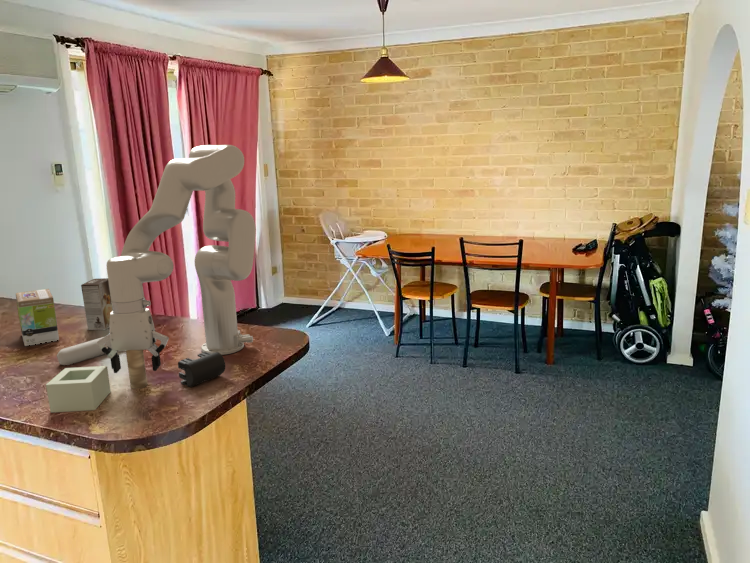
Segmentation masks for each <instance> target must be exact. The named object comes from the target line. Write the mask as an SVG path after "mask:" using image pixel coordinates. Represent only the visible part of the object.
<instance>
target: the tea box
mask: <svg viewBox="0 0 750 563" xmlns="http://www.w3.org/2000/svg"><path fill="white" fill-rule="evenodd" d="M15 297H16V299H15V300H16V307H17V308H16V309H17V315H18V319H19V320H18V322H19V327H20V332H21V336H22V341H23V345H24V347H28V346H29V345H30V346H35V344H36V345H41V344H40V343H42V344H46V343H45V342H47V343H52V342H51V341H53V342H57V340H58V341H59V340H60V338H59V337H60V336H59V328H58V321H57V313H56V308H55V302H54V297H53V294H52V293H51V290H50V288H46V289H45V288H44V289H36V290H29V291H20V292H16V293H15Z"/></svg>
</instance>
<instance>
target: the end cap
mask: <svg viewBox="0 0 750 563" xmlns="http://www.w3.org/2000/svg"><path fill="white" fill-rule="evenodd" d="M197 357H199V358H195V359H191V358H188V357H186V358H184V359H181V360H179V361H178V362H177V368H178V369H180V370H183V371H184V373H183V372H178V377H179V378H180V379H181V381H180V384H181V385H183V386H185V385H186V387H188V388H193V387H195V386H198V385H200V384H202V383H206V382H208V381H209V380H212V379H215V378H217V377H219V376H221V375H222V374H223V373H224V372H225V370H226V361H225V358H224V357H223V355H221V354H220V353H219V352H215V353H212V354H211V353H208V352H201V353H198V354H197Z"/></svg>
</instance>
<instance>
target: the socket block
mask: <svg viewBox="0 0 750 563" xmlns="http://www.w3.org/2000/svg"><path fill="white" fill-rule="evenodd" d="M45 388H46V394H47V399H48V404H49V410H50V411H49V412H50V413H64V412H66V413H67V412H69V413H70V412H82V411H84V412H85V411H96V409H97V408H98V407H99V406H100V405H101V404H102V402H103V401H104V400H105V399H106V398H107V397H108V396H109V394H110V393H111V392H112V391H111V384H110V378H109V370H108V366H107V365H103V366H101V365H99V366H96V365H95V366H81V367H64V369H62V370H61V371H60V372H59V373H58V374H57V375H55V376H54V377H53V378H52V379H51V380H50V381H49V382H47V383H46V384H45Z"/></svg>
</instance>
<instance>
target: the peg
mask: <svg viewBox="0 0 750 563" xmlns="http://www.w3.org/2000/svg"><path fill="white" fill-rule="evenodd" d="M125 354H126V363H127V369H128V377H129V384H130V389H132V390H139V389H143V388H145V387H147V386H148V380H147V379H148V378H147V371H146V364H145V354H144V350H128V351H125Z"/></svg>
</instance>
